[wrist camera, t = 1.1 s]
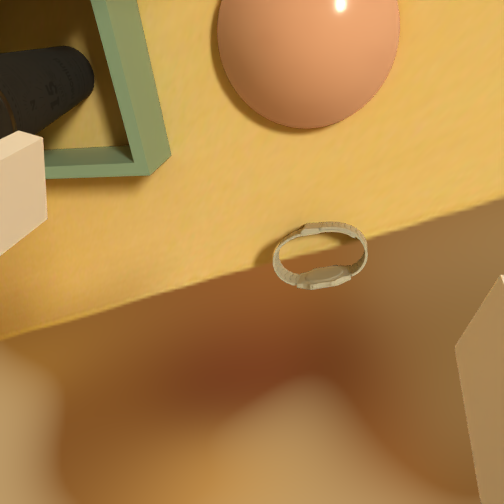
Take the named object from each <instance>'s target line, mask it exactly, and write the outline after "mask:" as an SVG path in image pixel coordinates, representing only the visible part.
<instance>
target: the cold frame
mask: <svg viewBox="0 0 504 504" xmlns="http://www.w3.org/2000/svg"><path fill="white" fill-rule="evenodd" d="M91 4H92V8H93V11H94V15H95V19H96V22H97V26H98V30H99V34H100V37H101V41H102V45H103V48H104V52H105V56H106V60H107V63H108V67H109V71H110V74H111V78H112V82H113V86H114V89H115V93H116V97H117V101H118V104H119V108H120V112H121V115H122V119H123V123H124V127H125V130H126V134H127V138H128V141H129V145H128V146H109V147H91V148H73V149H54V150H44V163H45V179H61V178H89V177H118V176H146V175H151V174H152V173H153V172H154V171H155V170H156V169H157V168H158V167H159V166H161V165H162V164H163V163H164V162H165V161H166V160H167V159H168V158H169V157H170V156H171V151H170V147H169V143H168V138H167V134H166V129H165V125H164V120H163V116H162V112H161V107H160V103H159V98H158V94H157V89H156V85H155V80H154V76H153V72H152V67H151V63H150V58H149V54H148V49H147V45H146V41H145V36H144V32H143V27H142V23H141V18H140V14H139V9H138V5H137V1H136V0H91Z"/></svg>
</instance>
